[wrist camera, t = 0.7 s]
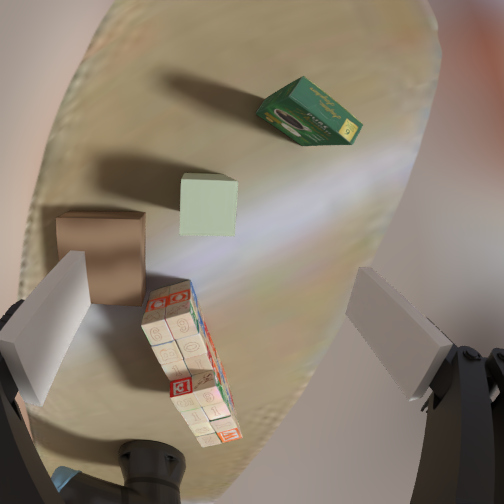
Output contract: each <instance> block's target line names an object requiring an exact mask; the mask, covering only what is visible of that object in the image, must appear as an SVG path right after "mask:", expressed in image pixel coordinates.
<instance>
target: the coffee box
mask: <svg viewBox="0 0 504 504" xmlns="http://www.w3.org/2000/svg"><path fill="white" fill-rule="evenodd" d="M256 115H258V116H259V117H261V118H262V119H264V120H265V121H266V122H268V123H270V124H271V125H273V126H274V127H276V128H277V129H279V130H280V131H282V132H283V133H284V134H286V135H287V136H289V137H290V138H292V139H293V140H294V141H296V142H297V143H299V144H300V145H301V146H318V145H353V143H354V141H355V139H356V138H357V136H358V134H359V132H360V130H361V128H362V126H363V124H362V123H361V122H360V121H359V120H358V119H356V118H355V117H354V116H353V115H352V114H351V113H349V112H348V111H347V110H346V109H345V108H344V107H342V106H341V105H340V104H339V103H338V102H337V101H335V100H334V99H333V98H332V97H330V96H329V95H328V94H327V93H325V92H324V91H323V90H322V89H320V88H319V87H318V86H316V85H315V84H314V83H312V82H311V81H310V80H308V79H307V78H306V77H304V76H302V77H300V78H299V79H297V80H295V81H293V82H292V83H290V84H288V85H286V86H285V87H283V88H281V89H280V90H278V91H277V92H275V93H273V94H272V95H270V96H268V97H267V98H266V99H265V100H264V101H263V103H262V104H261V106H260V107H259V109H258V110H257V112H256Z"/></svg>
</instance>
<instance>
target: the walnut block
mask: <svg viewBox="0 0 504 504" xmlns="http://www.w3.org/2000/svg"><path fill="white" fill-rule="evenodd" d="M145 222H146V212H109V211H68V212H66V213H64V214H62V215H60V216H58V217H57V218H56V234H57V247H58V258H59V262H60V261H61V260H62V258H63V257H64V256H65V255H66V254H67V253H68V252H69V251H85V261H86V271H87V280H88V288H89V295H90V302H91V303H92V304H106V305H122V306H140V307H142V304H143V300H144V297H145V293H146V269H145Z"/></svg>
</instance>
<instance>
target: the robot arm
mask: <svg viewBox="0 0 504 504" xmlns="http://www.w3.org/2000/svg"><path fill="white" fill-rule="evenodd" d="M90 305H91V302H90V295H89V288H88V280H87V271H86V261H85V251H69V252H68V253H67V254H66V255H65V256H64V257H63V258H62V260H61V261H60V262H59V263H58V264H57V265H56V266H55V267H54V268H53V269H52V270H51V271H50V272H49V273H48V274H47V276H46V277H45V278H44V279H43V280H42V281H41V282H40V283H39V284H38V286H37V287H36V288H35V289H34V290H33V291H32V292H31V294H30V295H29V296H28V297H27V298H26V300H22V299H21V300H20V301H18V302H16V303H15V304H13V305H12V306H11V307H10V308H9V309H8V311H7V312H6V313H5V315H3V317H2V318H1V319H0V504H181V501H180V491H179V487H180V484H181V481H182V478H183V475H184V472H185V469H186V464H185V457H184V455H183V454H182V453H181V452H180V451H179V450H177V449H176V448H174V447H172V446H169V445H167V444H163V443H160V442H154V441H133V442H129V443H126V444H124V445H123V446H122V447H121V448H120V450H119V457H118V460H119V464H120V468H121V471H122V474H123V478H124V486H121V485H118V484H115V483H111V482H108V481H105V480H102V479H99V478H96V477H93V476H90V475H88V474H85V473H82V471H79V470H78V471H76V470H74V469H71V468H68V467H65V466H60V467H58V468H57V469H56V470H55V471H54V473H53V475H52V477H51V478H50V476H49V474H48V472H47V470H46V469H45V467H44V465H43V463H42V461H41V459H40V457H39V454H38V452H37V450H36V448H35V446H34V444H33V441H32V439H31V437H30V434H29V432H28V430H27V427H26V425H25V422H24V420H23V417H22V414H21V412H20V409H19V406H18V404H17V402H16V401H15V396H16V394H17V392H18V391H19V393H20V395H21V397H22V398H23V400H24V402H26V403H29V404H33V405H36V406H40V407H42V406H43V404H44V401H45V399H46V396H47V394H48V392H49V389H50V387H51V384H52V382H53V380H54V378H55V375H56V373H57V371H58V369H59V366H60V364H61V362H62V360H63V358H64V356H65V354H66V351H67V349H68V347H69V345H70V343H71V341H72V339H73V337H74V335H75V333H76V331H77V329H78V327H79V325H80V323H81V322H82V320H83V318H84V316H85V314H86V312H87V310H88V308H89V307H90ZM345 314H346V315H347V316H348V318H349V319H350V320H351V322H352V323H353V324H354V326H355V327H356V328H357V330H358V331H359V332H360V333H361V335H362V336H363V338H364V339H365V340H366V341H367V343H368V345H369V346H370V347H371V349H372V350H373V351H374V353H375V354H376V356H377V357H378V358H379V360H380V361H381V362H382V364H383V365H384V367H385V368H386V370H387V371H388V372H389V374H390V375H391V377H392V378H393V379H394V381H395V382H396V384H397V385H398V386H399V388H400V389H401V391H402V392H403V394H404V395H405V396H406V398H407V399H408V401H411V400H414V399H418V398H421V397H422V396H423V395H424V393H425V392H426V390H427V389H428V387H430V388H431V389H432V390H433V392H432V393H431V395H430V396H429V398H428V399H427V401H426V402H425V404H424V405H423V407H422V409H421V411H423V410H424V409H425V408H426V407H428V410H427V411H426V413H427V421H426V428H425V435H424V442H423V448H422V453H421V459H420V464H419V468H418V473H417V478H416V482H415V486H414V490H413V494H412V498H411V501H410V504H504V349H500V348H494V349H493V350H492V352H491V353H490V355H489V357H488V358H483V357H482V356H481V355H480V354H479V353H478V352H477V351H476V350H474V349H473V348H470V347H468V346H460V347H459V348H458V347H457V346H456V345H455V344H454V343H453V342H452V341H451V340H450V339H449V338H448V337H447V336H446V335H445V334H444V333H443V332H442V331H440V330H439V328H438V327H437V326H435V325H434V324H433V323H432V322H431V321H430V320H429V319H428V318H427V317H425V316H424V315H423V314H422V313H421V312H420V311H419V310H418V309H417V308H416V307H414V306H413V305H412V304H411V303H410V302H409V301H408V300H407V299H406V298H405V297H404V296H403V295H401V294H400V293H399V292H398V291H397V290H396V289H395V288H394V287H393V286H391V285H390V284H389V283H388V282H387V281H386V280H385V279H384V278H383V277H381V276H380V275H379V274H378V273H377V272H376V271H375V270H373V269H372V268H368V267H359V269H358V273H357V277H356V280H355V284H354V287H353V290H352V294H351V297H350V300H349V304H348V307H347V310H346V313H345ZM498 388H499V390H500V394H499V395H498V396H497V398H496V399H495V401H494V402H492V400H491V397H492V396H493V394H494V393H495V391H496V390H497V389H498Z"/></svg>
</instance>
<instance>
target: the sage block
mask: <svg viewBox="0 0 504 504" xmlns="http://www.w3.org/2000/svg"><path fill="white" fill-rule="evenodd" d="M237 193H238V181H236V180H234V179H232V178H230V177H228V176H226V175H224V174H204V173H184V175H183V177H182V179H181V196H180V235H193V236H235V222H236V207H237Z"/></svg>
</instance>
